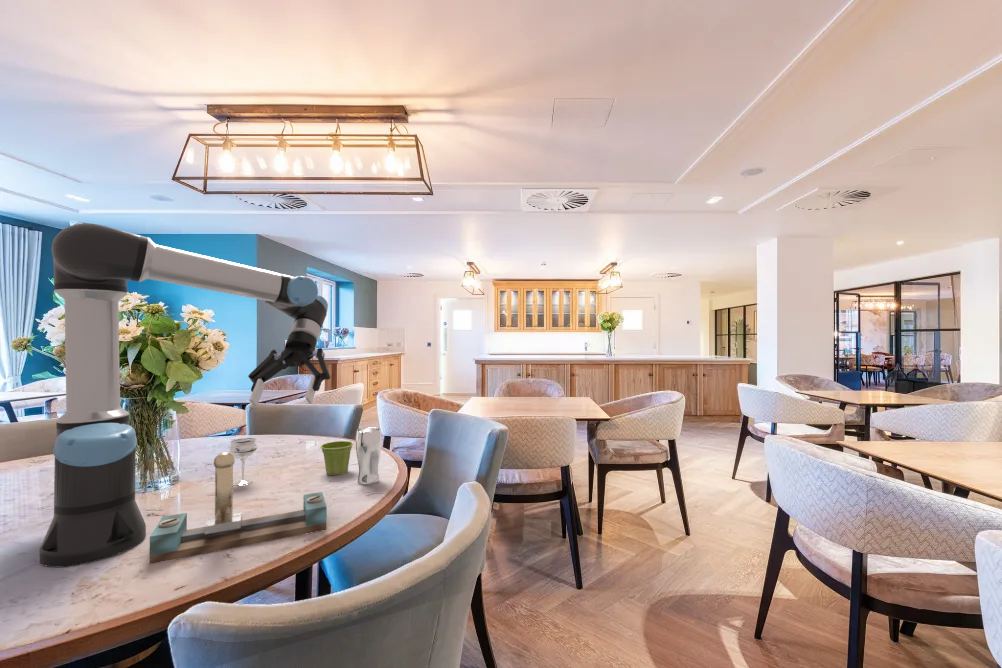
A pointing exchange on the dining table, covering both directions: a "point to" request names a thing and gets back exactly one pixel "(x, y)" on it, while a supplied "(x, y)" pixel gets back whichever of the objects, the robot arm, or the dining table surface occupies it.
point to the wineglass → (243, 453)
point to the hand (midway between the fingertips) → (280, 402)
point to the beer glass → (368, 454)
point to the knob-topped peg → (223, 497)
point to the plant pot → (336, 456)
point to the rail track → (234, 531)
